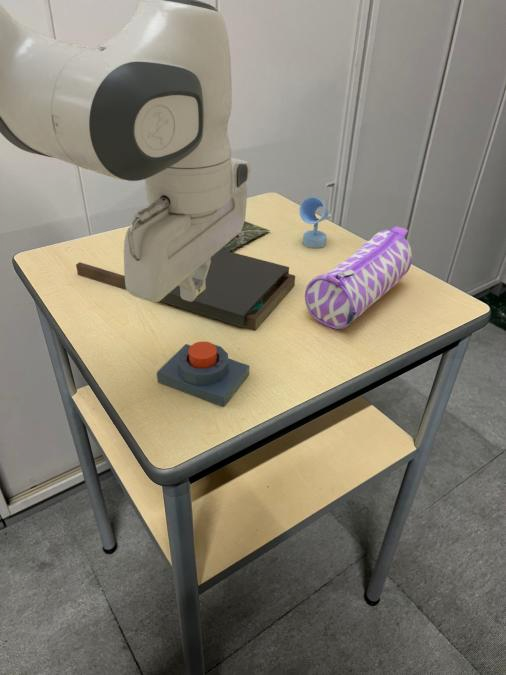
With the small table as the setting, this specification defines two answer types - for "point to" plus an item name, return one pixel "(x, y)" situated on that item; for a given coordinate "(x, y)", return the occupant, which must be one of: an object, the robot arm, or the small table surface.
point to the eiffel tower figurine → (244, 236)
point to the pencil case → (359, 279)
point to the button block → (204, 376)
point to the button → (202, 355)
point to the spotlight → (313, 222)
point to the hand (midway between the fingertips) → (193, 295)
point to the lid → (231, 287)
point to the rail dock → (250, 320)
